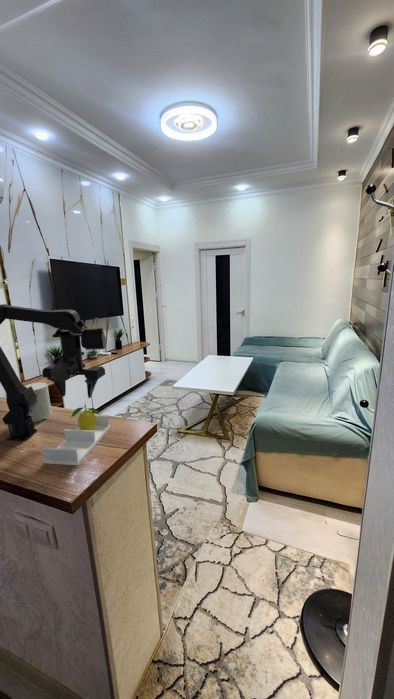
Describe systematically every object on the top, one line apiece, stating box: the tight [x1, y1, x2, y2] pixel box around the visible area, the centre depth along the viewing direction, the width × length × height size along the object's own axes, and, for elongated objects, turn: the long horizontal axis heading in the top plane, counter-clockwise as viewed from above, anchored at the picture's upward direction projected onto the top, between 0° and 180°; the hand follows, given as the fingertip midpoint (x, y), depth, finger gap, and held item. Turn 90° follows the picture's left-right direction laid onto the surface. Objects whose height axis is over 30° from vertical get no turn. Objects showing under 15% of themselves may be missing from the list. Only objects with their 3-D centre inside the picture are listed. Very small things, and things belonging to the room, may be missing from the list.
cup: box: [24, 382, 53, 423], centre depth 107 cm, size 8×8×12 cm
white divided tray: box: [43, 414, 111, 466], centre depth 89 cm, size 10×21×4 cm, turn 172°
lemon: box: [70, 403, 100, 430], centre depth 93 cm, size 7×6×10 cm
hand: (76, 396), depth 95 cm, fingers open, 9 cm apart
